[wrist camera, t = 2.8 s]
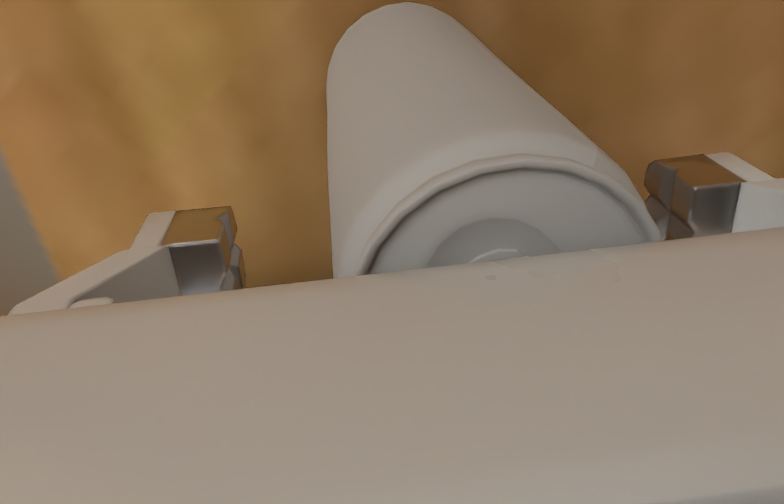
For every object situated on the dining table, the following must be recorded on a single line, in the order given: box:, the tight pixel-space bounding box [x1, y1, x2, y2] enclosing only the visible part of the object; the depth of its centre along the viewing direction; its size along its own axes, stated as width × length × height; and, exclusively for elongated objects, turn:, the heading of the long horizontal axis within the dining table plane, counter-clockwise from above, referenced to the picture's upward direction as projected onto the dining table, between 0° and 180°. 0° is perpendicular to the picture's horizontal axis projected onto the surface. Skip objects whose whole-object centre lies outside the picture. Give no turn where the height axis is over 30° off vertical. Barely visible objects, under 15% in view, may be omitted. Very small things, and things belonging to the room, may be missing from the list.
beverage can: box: [326, 2, 663, 278], centre depth 14 cm, size 5×5×12 cm
